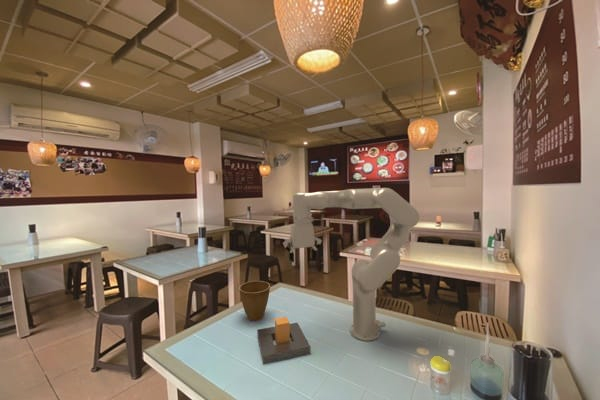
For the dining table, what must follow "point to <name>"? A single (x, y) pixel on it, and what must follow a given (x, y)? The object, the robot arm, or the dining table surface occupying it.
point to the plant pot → (254, 299)
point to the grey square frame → (285, 350)
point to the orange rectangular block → (282, 330)
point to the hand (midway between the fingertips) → (303, 260)
